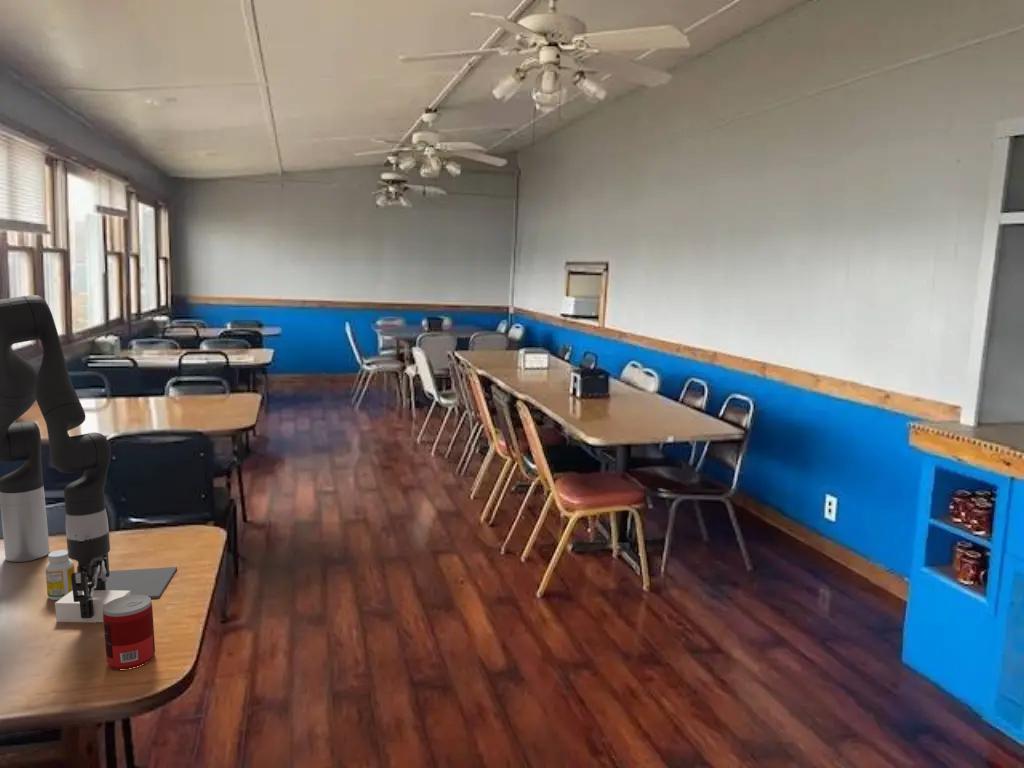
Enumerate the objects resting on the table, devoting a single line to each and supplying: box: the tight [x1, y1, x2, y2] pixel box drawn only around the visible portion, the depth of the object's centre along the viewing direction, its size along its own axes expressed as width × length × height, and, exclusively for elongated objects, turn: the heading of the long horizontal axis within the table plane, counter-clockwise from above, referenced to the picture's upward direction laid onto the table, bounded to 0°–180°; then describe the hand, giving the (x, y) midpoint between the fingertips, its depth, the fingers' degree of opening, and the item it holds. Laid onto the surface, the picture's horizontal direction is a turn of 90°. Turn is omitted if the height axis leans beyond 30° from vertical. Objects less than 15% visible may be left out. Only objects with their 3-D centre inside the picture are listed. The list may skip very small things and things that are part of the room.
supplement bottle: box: [44, 549, 76, 601], centre depth 167 cm, size 5×5×10 cm
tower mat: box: [88, 566, 178, 599], centre depth 173 cm, size 16×16×1 cm
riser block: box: [54, 590, 131, 623], centre depth 158 cm, size 6×12×4 cm, turn 89°
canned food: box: [103, 595, 156, 671], centre depth 140 cm, size 8×8×11 cm
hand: (94, 609), depth 158 cm, fingers closed on riser block, 7 cm apart
